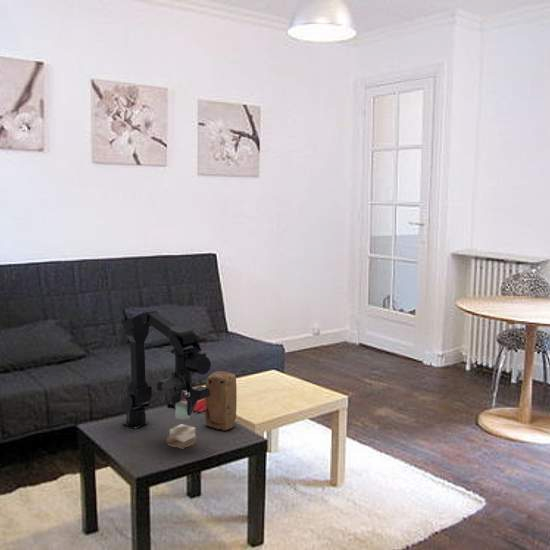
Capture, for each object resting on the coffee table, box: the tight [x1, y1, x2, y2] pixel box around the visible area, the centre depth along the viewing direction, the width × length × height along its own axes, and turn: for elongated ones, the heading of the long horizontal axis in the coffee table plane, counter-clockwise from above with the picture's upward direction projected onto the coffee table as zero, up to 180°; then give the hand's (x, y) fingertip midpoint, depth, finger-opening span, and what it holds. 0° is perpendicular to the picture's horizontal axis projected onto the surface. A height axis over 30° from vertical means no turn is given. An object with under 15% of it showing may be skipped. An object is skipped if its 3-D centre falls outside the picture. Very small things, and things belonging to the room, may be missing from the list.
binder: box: [166, 393, 206, 414], centre depth 257 cm, size 16×2×21 cm
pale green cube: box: [174, 401, 192, 420], centre depth 213 cm, size 5×5×4 cm
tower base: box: [166, 435, 198, 448], centre depth 215 cm, size 7×7×3 cm
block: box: [204, 370, 238, 431], centre depth 230 cm, size 11×8×20 cm
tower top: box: [169, 423, 196, 442], centre depth 214 cm, size 6×6×3 cm
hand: (183, 413), depth 213 cm, fingers closed on pale green cube, 5 cm apart
